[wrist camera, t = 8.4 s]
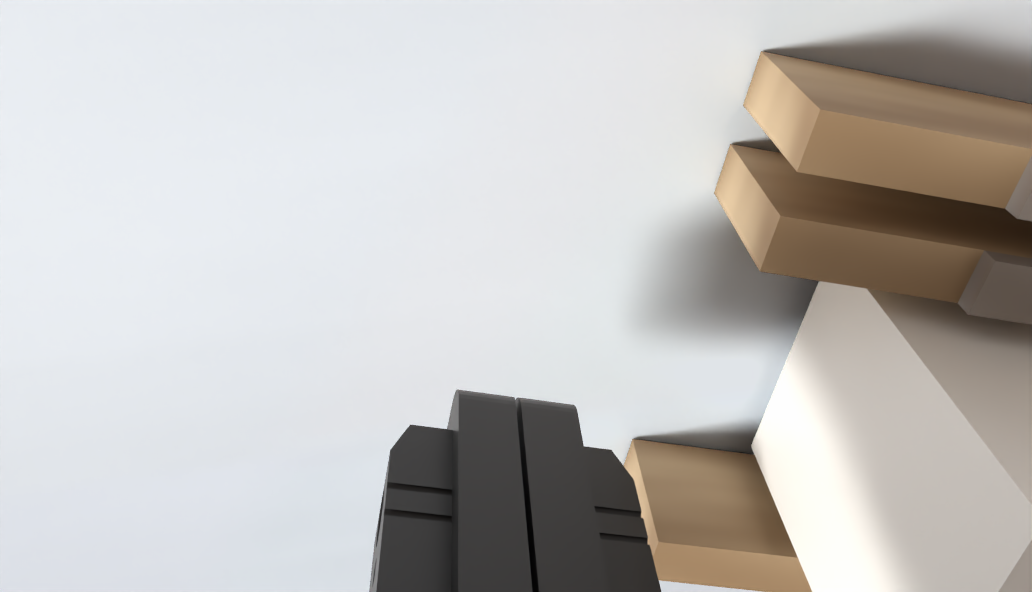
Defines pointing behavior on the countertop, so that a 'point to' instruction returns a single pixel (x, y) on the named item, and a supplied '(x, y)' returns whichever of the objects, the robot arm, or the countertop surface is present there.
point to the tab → (903, 445)
